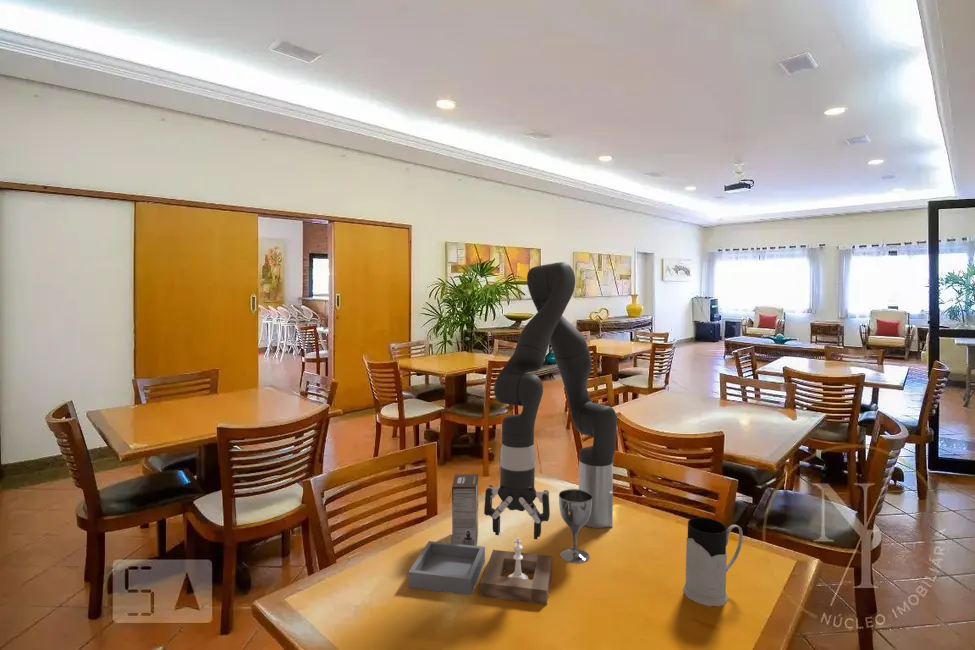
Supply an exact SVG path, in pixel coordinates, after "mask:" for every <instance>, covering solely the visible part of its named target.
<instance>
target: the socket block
mask: <svg viewBox="0 0 975 650" xmlns="http://www.w3.org/2000/svg"><path fill="white" fill-rule="evenodd" d="M514 555H516V554H515V551H510V550H508V551H507V550H498V549H492V552H491V554H490V556H489V559H488V562H487V565H486V567H485V568H484V569H485V570H484V573H483V575H482V578H481V580H480V592H479V594H480V595H479V596H480V597H483V598H488V599H489V598H492V599H498V600H506V601H507V600H508V601H513V602H514V601H515V602H523V603H531V604H537V605H538V604H539V605H548V599H549V592H550V586H551V579H552V578H551V577H552V572H553V555H549V554H548V555H547V554H538V553H529V552H528V553H527V552H521V554H520V555H522V556H523V559H522V560H520V563H521V571H522V573H523V574H531V575H533V577H532V579H520V578H512V577H508V576H504V572H512V573H514V572H515V564H516V560H515V559H514V558H513V557H514Z"/></svg>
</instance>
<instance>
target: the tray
mask: <svg viewBox="0 0 975 650" xmlns="http://www.w3.org/2000/svg"><path fill="white" fill-rule="evenodd" d="M485 562H486V546H481V545H477V546H472V545H462V544H453V543H451V542H441V541H433V540H429V541H428V542H427V543H426V545H425V546H424V548H423V550H422V551H421V552H420V554H419V556H418V557H417V559H416V560H415V561H414V563H413V564H412V565H411V568H410V569H409V571H408V588H410V589H419V590H425V591H433V592H443V593H449V594H450V593H452V594H458V595H459V594H460V595H467V596H472V594H473V592H474V589H475V587H476V584H477V582H478V579H479V578H480V577H479V576H480V574H481V571H483V566H484V564H485Z"/></svg>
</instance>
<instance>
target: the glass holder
mask: <svg viewBox="0 0 975 650" xmlns="http://www.w3.org/2000/svg"><path fill="white" fill-rule="evenodd" d="M734 528H737V529H738V533H739V534H738V535H739V536H738V542H737V543H738V544H737V548H736V549H735V552H734V554H733V556H732V558H731V560H730V561H729V562H727V558H728V556H727V554H728V552H727V546H728V543H729V537H730V533H731V531H732V530H733V529H734ZM743 534H744V533H743V530H742V527H740V526H739V525H737V524H731V525H730V526H728V527H726V525H725V524H723V523H722V522H721V521H718V520H715V519H712V518H708V517H692V518H690V519H688V520H687V537H686V545H685V546H686V550H685V551H686V552H685V583H684V585H683V593H684V595H685V597H686V598H688V599H689V600H690V601H692V600H693V601H692V602H694V601H695V602H694V603H696V602H697V603H696V604H698V603H699V604H698V605H701V604H703V605H702V606H705V605H706V606H705V607H711V606H717V607H722V606H724V605H726V604H727V603H728V601H729V597H728V595H727V591H726V590H727V589H726V588H727V572H729V569H730V568H731V567H732V566H733V564H734V563H735V562H736V560H737V559H738V557H739V554H740V552H741V549H742V544H743V537H744V536H743ZM727 563H728V564H727ZM727 600H728V601H727ZM726 602H727V603H726ZM725 603H726V604H725ZM721 605H722V606H721Z"/></svg>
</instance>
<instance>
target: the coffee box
mask: <svg viewBox="0 0 975 650" xmlns="http://www.w3.org/2000/svg"><path fill="white" fill-rule="evenodd" d="M451 521H452V522H451V524H452V527H451V528H452V529H451V532H452V533H451V536H452V537H451V539H452V540H451V541H452V543H453V544H462V545H472V546H478V539H479V538H478V537H479V474H477V473H476V474H474V473H473V474H472V473H470V474H466V473H463V474H461V473H460V474H458V473H456V474H455V475H454V477H453V482H452V485H451Z"/></svg>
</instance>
